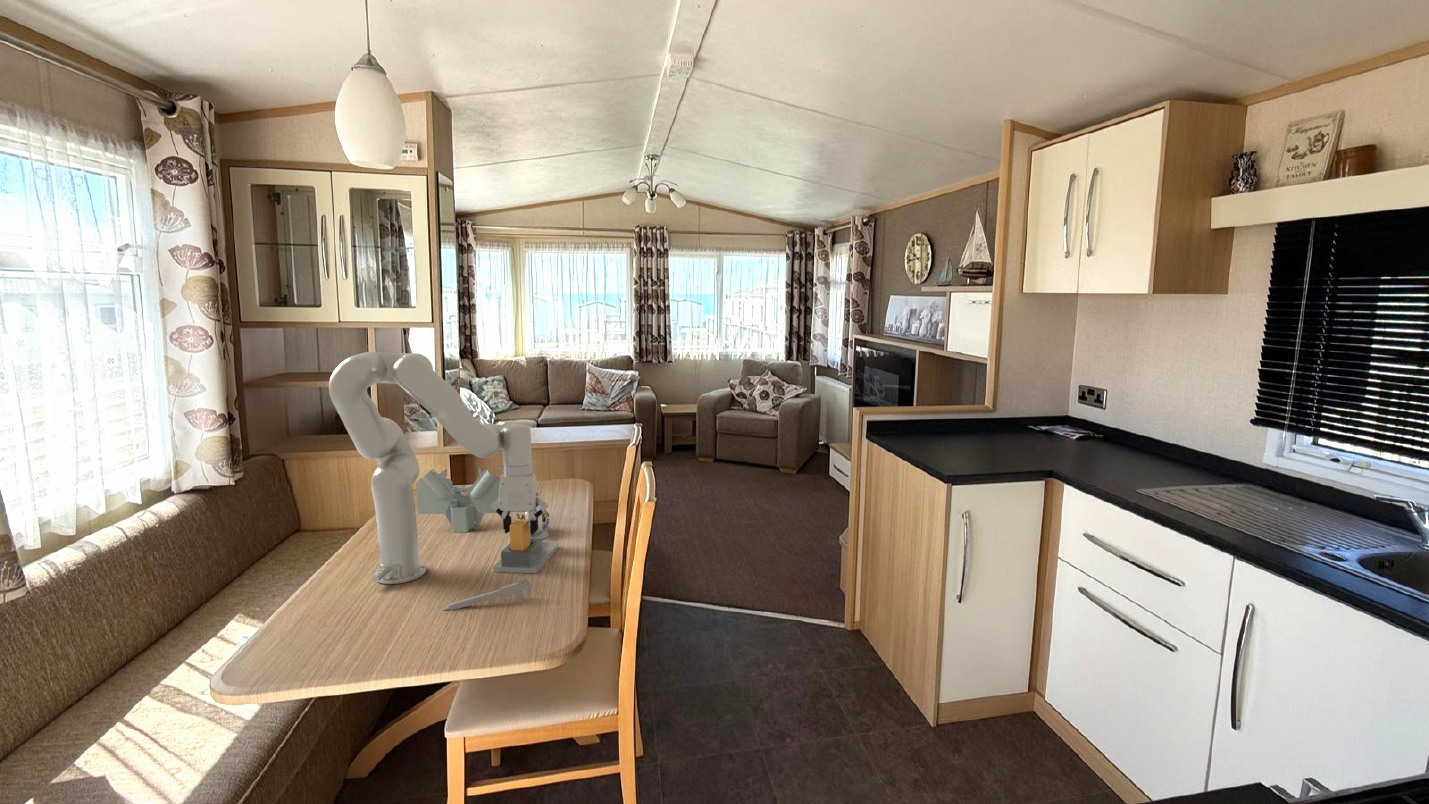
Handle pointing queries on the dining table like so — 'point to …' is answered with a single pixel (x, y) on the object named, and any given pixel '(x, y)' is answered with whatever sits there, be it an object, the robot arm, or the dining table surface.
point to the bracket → (458, 498)
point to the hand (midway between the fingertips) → (521, 531)
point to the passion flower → (544, 519)
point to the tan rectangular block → (520, 535)
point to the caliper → (495, 595)
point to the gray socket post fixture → (528, 552)
